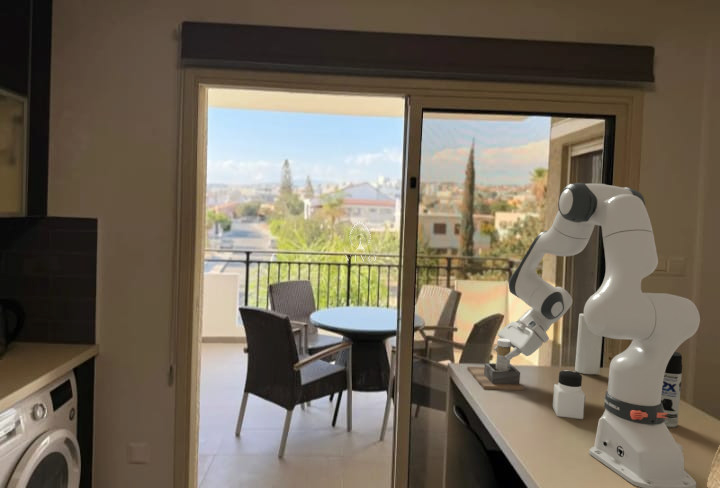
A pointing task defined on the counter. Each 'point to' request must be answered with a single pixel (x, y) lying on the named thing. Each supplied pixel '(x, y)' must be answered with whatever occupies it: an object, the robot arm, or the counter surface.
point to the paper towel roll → (587, 349)
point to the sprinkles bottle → (503, 354)
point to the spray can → (672, 389)
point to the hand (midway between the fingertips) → (501, 354)
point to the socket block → (496, 377)
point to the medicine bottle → (569, 395)
